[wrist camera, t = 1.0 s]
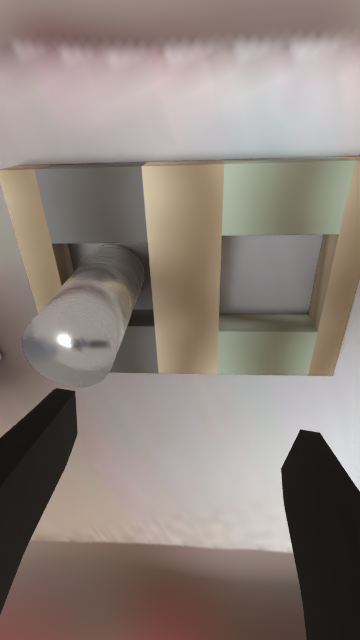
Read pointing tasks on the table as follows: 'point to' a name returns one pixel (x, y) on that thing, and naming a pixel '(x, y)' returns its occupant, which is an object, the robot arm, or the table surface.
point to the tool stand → (199, 252)
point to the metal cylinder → (86, 319)
